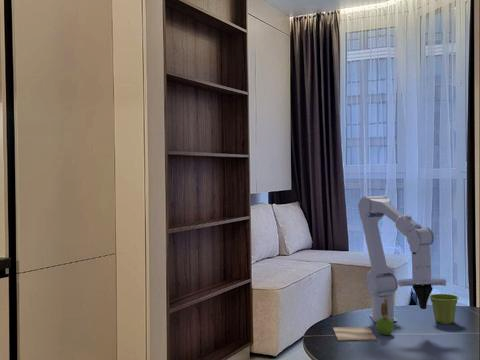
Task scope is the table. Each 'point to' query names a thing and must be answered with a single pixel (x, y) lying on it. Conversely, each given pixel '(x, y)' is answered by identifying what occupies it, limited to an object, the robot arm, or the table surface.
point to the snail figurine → (385, 320)
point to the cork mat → (354, 334)
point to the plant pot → (444, 307)
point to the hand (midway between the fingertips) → (423, 308)
